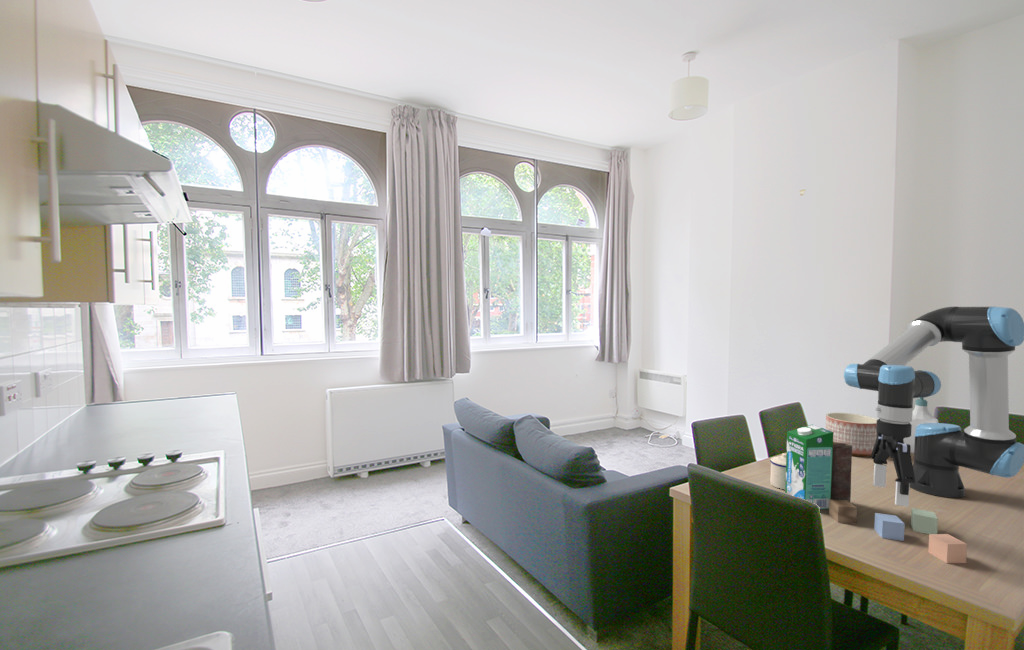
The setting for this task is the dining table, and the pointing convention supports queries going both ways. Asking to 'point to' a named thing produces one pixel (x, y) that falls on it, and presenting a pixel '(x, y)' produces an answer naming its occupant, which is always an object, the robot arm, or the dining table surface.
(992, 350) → the robot arm
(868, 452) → the planter
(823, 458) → the milk carton
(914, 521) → the sage cube
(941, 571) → the dining table surface
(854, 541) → the dining table surface
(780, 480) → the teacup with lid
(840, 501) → the walnut cube
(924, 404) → the soap bottle
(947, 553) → the terracotta cube
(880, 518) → the slate blue cube
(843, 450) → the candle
